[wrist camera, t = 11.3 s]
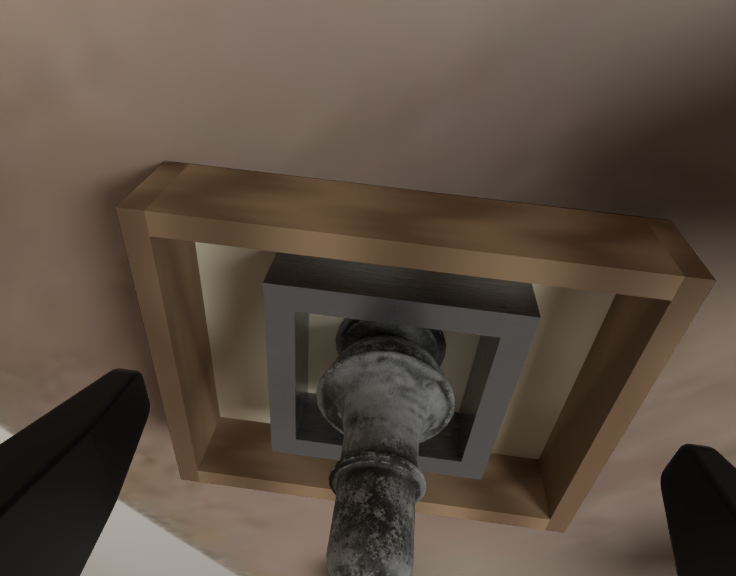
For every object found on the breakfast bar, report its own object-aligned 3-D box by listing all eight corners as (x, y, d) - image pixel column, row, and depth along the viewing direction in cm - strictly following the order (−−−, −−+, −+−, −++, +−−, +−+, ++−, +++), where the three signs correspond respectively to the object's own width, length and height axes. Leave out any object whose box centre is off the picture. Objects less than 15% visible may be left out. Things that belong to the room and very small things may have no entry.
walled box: (670, 220, 20) (716, 280, 17) (549, 464, 29) (564, 532, 26) (165, 160, 21) (115, 207, 17) (207, 418, 30) (181, 479, 27)
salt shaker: (475, 325, 23) (505, 618, 14) (419, 402, 27) (412, 679, 17) (355, 278, 22) (297, 556, 13) (313, 364, 26) (243, 634, 16)
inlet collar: (528, 271, 21) (540, 317, 19) (476, 429, 28) (481, 479, 25) (281, 241, 22) (262, 282, 19) (285, 404, 28) (271, 451, 25)
